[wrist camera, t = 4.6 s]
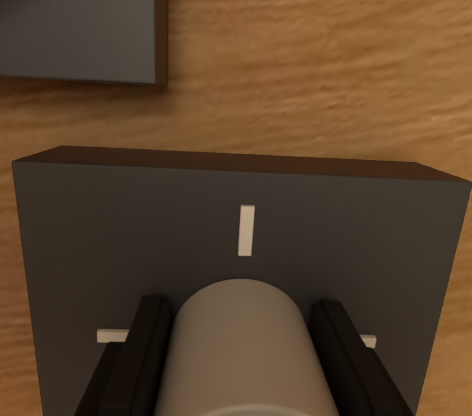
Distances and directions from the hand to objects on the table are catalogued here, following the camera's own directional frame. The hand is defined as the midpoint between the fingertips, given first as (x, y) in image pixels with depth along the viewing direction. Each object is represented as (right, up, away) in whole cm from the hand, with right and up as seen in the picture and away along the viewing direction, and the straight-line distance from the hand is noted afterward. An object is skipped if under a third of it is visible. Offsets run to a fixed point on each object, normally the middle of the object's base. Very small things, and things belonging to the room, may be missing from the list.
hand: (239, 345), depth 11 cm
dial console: (0, +1, +3) cm, 3 cm away
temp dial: (0, 0, 0) cm, 0 cm away
